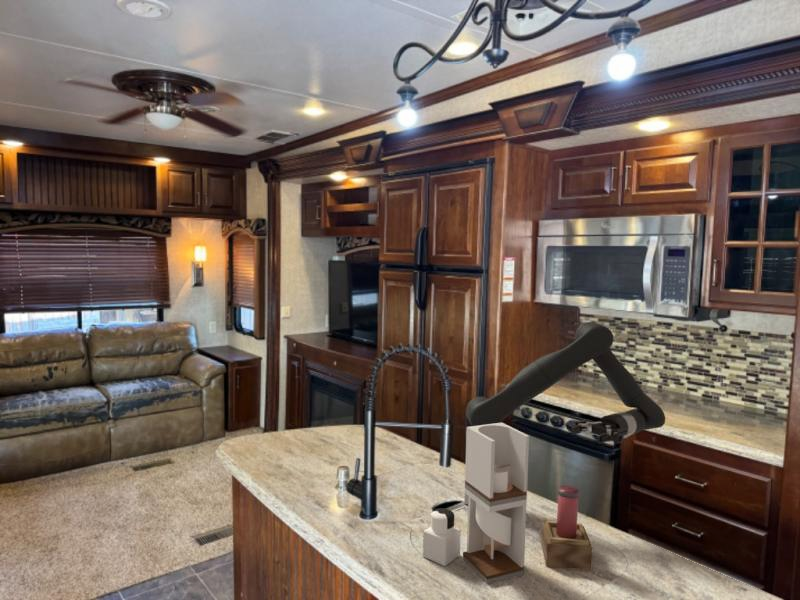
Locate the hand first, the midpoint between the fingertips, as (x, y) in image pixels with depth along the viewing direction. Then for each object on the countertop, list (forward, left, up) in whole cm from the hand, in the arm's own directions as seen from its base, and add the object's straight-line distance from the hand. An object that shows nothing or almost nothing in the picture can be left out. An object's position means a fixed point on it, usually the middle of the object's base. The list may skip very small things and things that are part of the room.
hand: (585, 435), depth 156 cm
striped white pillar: (-26, -23, -28) cm, 44 cm away
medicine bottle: (-39, -20, -28) cm, 52 cm away
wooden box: (-7, -15, -28) cm, 32 cm away
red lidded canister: (-7, -15, -22) cm, 27 cm away
